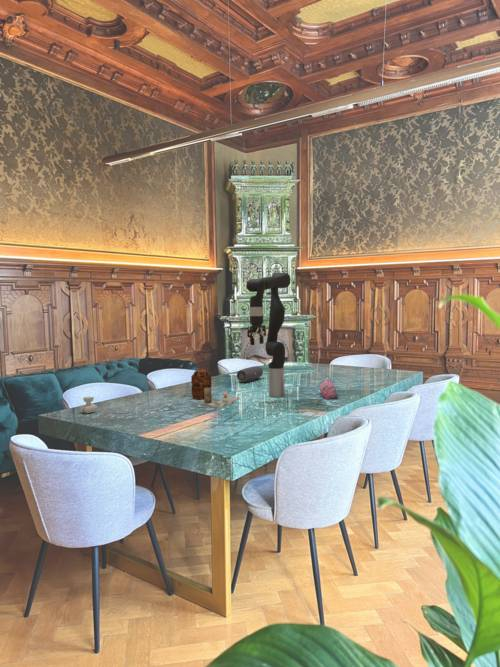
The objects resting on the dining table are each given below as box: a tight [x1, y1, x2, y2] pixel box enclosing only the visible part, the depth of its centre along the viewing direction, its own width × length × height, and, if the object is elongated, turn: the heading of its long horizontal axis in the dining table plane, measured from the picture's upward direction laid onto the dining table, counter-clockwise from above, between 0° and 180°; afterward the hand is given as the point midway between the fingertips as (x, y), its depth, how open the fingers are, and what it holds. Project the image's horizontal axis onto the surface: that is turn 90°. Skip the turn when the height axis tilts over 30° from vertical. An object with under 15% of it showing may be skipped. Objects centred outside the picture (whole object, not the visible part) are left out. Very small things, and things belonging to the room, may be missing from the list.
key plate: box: [220, 391, 241, 402], centre depth 268 cm, size 8×8×4 cm
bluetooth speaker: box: [236, 365, 264, 383], centre depth 330 cm, size 23×9×10 cm, turn 147°
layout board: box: [199, 398, 235, 409], centre depth 257 cm, size 14×14×1 cm
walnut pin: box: [203, 387, 212, 403], centre depth 256 cm, size 4×4×8 cm
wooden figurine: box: [190, 368, 213, 401], centre depth 273 cm, size 12×6×18 cm, turn 121°
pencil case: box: [319, 379, 338, 400], centre depth 273 cm, size 21×9×9 cm, turn 174°
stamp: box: [79, 396, 98, 414], centre depth 243 cm, size 9×7×8 cm
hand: (257, 344), depth 251 cm, fingers open, 8 cm apart
